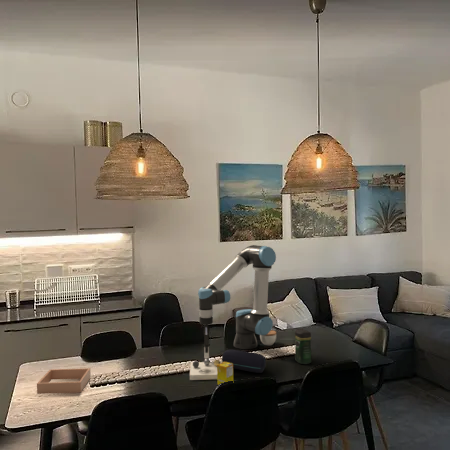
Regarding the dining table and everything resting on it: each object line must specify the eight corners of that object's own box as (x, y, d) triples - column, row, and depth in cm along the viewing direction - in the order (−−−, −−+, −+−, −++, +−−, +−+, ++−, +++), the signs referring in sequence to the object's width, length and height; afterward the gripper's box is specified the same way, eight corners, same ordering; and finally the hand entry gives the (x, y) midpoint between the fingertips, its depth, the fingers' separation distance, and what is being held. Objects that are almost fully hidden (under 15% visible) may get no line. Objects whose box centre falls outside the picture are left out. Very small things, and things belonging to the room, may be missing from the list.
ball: (209, 363, 263) (209, 357, 263) (210, 366, 260) (209, 359, 260) (203, 364, 263) (203, 358, 263) (203, 366, 260) (203, 360, 260)
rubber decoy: (199, 366, 260) (198, 359, 260) (198, 368, 257) (198, 362, 257) (192, 366, 260) (192, 360, 260) (192, 368, 257) (192, 362, 256)
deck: (190, 366, 266) (190, 362, 266) (222, 366, 267) (222, 361, 267) (189, 380, 246) (189, 375, 246) (224, 378, 247) (224, 374, 247)
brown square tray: (90, 377, 252) (90, 368, 252) (80, 392, 232) (80, 382, 232) (50, 378, 251) (49, 369, 251) (37, 393, 231) (36, 383, 231)
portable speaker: (269, 370, 259) (269, 352, 258) (261, 376, 250) (260, 357, 250) (229, 363, 271) (228, 346, 271) (220, 369, 263) (219, 351, 262)
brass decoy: (220, 364, 262) (219, 358, 262) (220, 366, 258) (220, 360, 258) (213, 365, 262) (213, 358, 261) (213, 367, 258) (213, 360, 258)
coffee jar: (313, 363, 269) (313, 331, 268) (300, 365, 266) (300, 332, 266) (305, 358, 278) (305, 327, 277) (293, 360, 276) (292, 328, 275)
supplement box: (224, 382, 242) (224, 361, 242) (233, 385, 239) (233, 363, 238) (217, 386, 238) (216, 364, 237) (226, 388, 234) (226, 366, 234)
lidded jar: (256, 342, 311) (256, 328, 311) (271, 340, 316) (271, 326, 315) (265, 347, 301) (265, 332, 301) (279, 344, 306) (279, 330, 306)
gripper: (199, 314, 276) (200, 354, 277) (199, 319, 263) (199, 361, 264) (212, 313, 276) (213, 354, 277) (212, 319, 263) (213, 361, 264)
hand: (206, 357), depth 270 cm, fingers closed
